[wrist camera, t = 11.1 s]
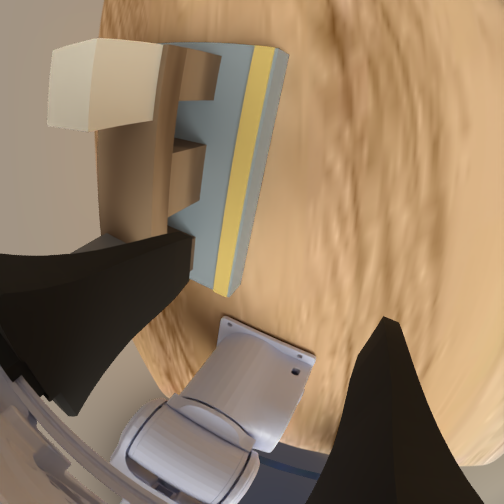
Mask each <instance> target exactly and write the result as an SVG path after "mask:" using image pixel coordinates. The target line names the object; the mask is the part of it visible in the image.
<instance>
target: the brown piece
mask: <svg viewBox="0 0 504 504" xmlns="http://www.w3.org/2000/svg"><path fill="white" fill-rule="evenodd" d="M221 58H222V56H220V55H216V54H212V53H208V52H203V51H199V50H195V49H190V48H185V47H180V46H175V45H170V44H165V45H163V49H162V55H161V61H160V67H159V73H158V80H157V87H156V95H155V103H154V112H153V121H146V122H140V123H133V124H127V125H122V126H116V127H111V128H106V129H101V130H98V146H97V173H98V201H99V216H100V228H101V236H102V235H104V234H106V233H108V234H110V235H112V236H113V237H115V238H117V239H119V240H121V241H123V242H125V243H130V242H134V241H138V240H142V239H146V238H150V237H154V236H159V235H163V234H167V233H172V232H179V231H180V230H178V229H175V228H173V227H171V226H168V225H167V224H168V217H170V216H172V215H173V214H175V213H177V212H179V211H181V210H183V209H184V208H186V207H188V206H190V205H192V204H194V203H196V202H198V201H199V200H200V192H201V184H202V176H203V168H204V161H205V153H206V146H207V145H205V144H201V143H196V142H192V141H188V140H183V139H179V138H174V134H175V126H176V118H177V110H178V103H179V101H197V100H213V101H214V96H215V90H216V84H217V79H218V73H219V68H220V63H221ZM180 232H182V231H180ZM182 233H184V234H187V233H185V232H182ZM187 235H189V234H187ZM189 236H191V237H193V238H192V249H191V262H190V271H191V270H193V262H194V250H195V239H196V237H194V236H192V235H189Z"/></svg>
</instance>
